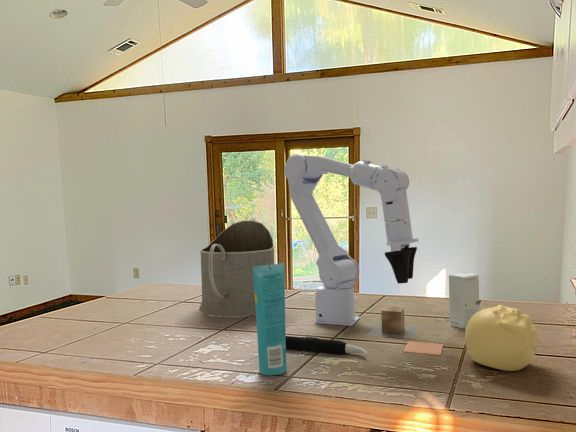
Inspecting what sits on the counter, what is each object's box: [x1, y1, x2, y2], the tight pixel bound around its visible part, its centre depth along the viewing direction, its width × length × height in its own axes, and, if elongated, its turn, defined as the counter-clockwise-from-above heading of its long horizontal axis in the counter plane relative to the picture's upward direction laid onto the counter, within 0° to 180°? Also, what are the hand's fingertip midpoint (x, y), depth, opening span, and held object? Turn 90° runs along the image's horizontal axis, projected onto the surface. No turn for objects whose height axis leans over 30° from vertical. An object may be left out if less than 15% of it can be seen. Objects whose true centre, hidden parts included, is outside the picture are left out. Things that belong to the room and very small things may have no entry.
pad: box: [402, 340, 444, 357], centre depth 94 cm, size 7×7×1 cm
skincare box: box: [448, 272, 480, 330], centre depth 111 cm, size 6×4×12 cm
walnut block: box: [380, 305, 405, 334], centre depth 107 cm, size 4×4×5 cm
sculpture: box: [464, 304, 539, 372], centre depth 84 cm, size 12×12×11 cm
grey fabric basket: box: [198, 220, 275, 318], centre depth 132 cm, size 23×32×25 cm
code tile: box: [366, 323, 419, 340], centre depth 107 cm, size 10×10×1 cm
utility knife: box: [286, 335, 368, 355], centre depth 94 cm, size 22×4×3 cm, turn 68°
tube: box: [253, 262, 287, 376], centre depth 84 cm, size 7×5×19 cm, turn 140°
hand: (405, 280), depth 106 cm, fingers open, 7 cm apart
